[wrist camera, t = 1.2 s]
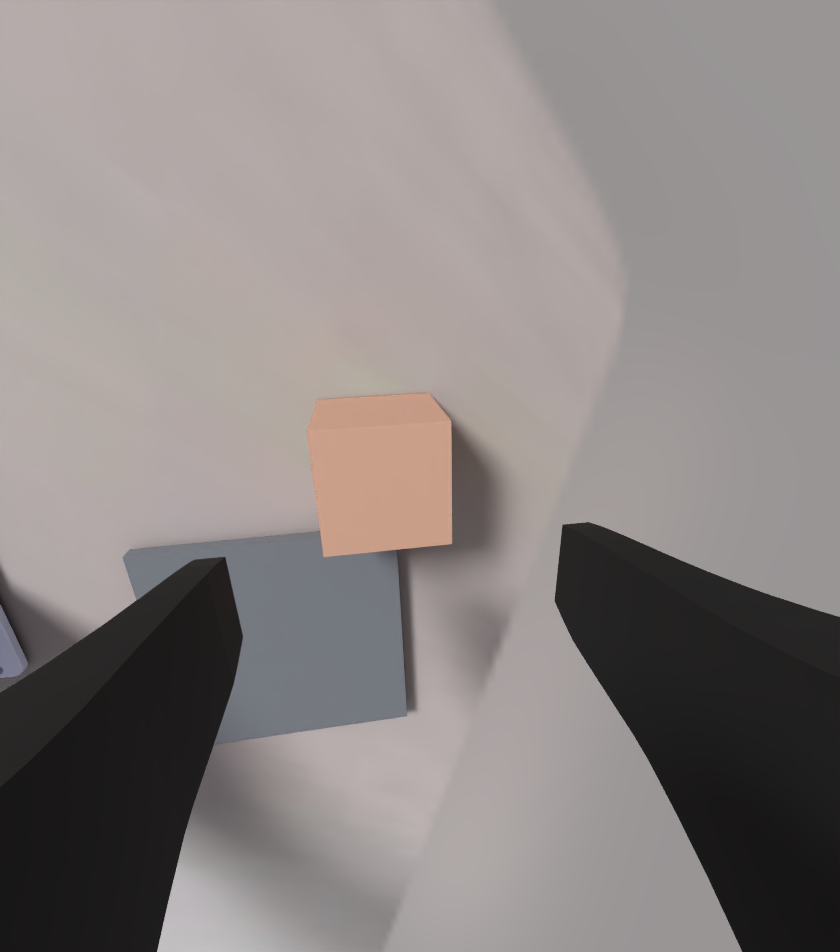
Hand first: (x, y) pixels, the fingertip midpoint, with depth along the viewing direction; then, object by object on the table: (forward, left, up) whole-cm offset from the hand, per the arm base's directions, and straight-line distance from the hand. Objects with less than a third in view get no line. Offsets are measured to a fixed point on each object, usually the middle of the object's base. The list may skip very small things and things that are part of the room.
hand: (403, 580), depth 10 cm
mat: (-5, -9, -9) cm, 14 cm away
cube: (0, 0, -10) cm, 10 cm away
